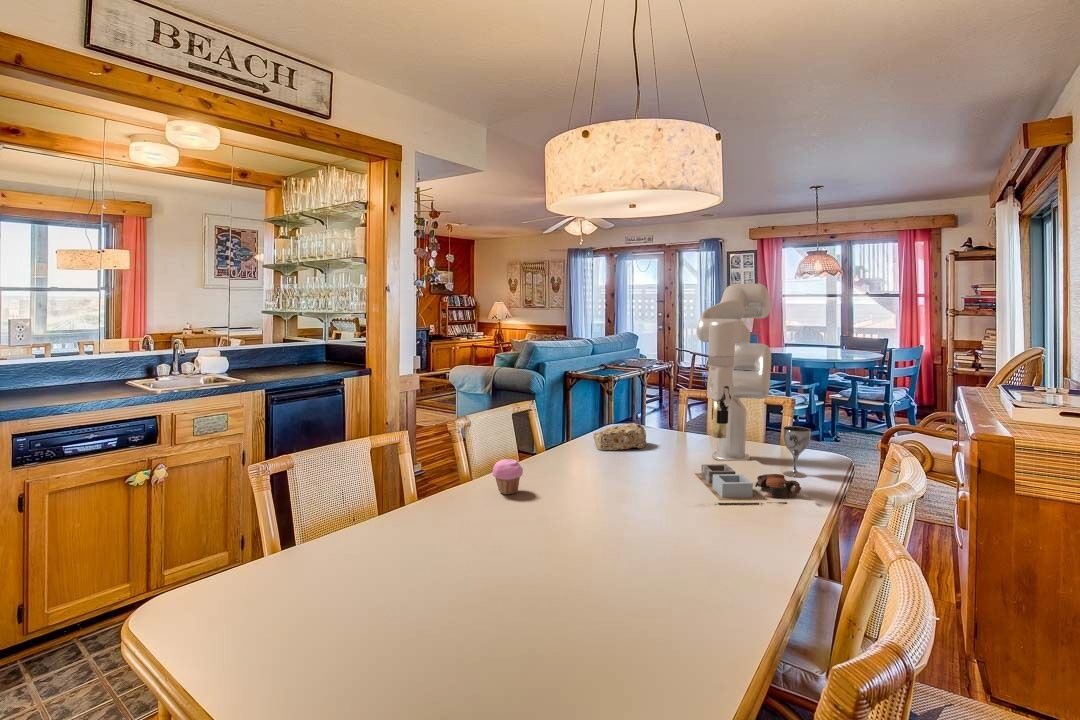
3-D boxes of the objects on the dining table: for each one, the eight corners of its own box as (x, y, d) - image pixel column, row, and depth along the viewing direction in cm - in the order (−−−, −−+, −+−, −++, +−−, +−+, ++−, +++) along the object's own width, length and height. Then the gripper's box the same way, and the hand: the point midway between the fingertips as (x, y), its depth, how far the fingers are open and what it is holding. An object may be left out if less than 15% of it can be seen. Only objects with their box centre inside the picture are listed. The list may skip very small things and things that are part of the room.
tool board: (694, 478, 176) (694, 462, 176) (728, 477, 176) (729, 462, 176) (719, 505, 152) (720, 487, 152) (759, 505, 153) (760, 487, 152)
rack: (712, 487, 162) (712, 474, 162) (741, 487, 163) (741, 474, 162) (722, 497, 154) (722, 483, 154) (752, 497, 154) (752, 483, 154)
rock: (600, 455, 207) (596, 428, 208) (592, 454, 221) (588, 429, 222) (653, 447, 210) (648, 420, 211) (641, 446, 224) (637, 421, 225)
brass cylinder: (710, 435, 171) (711, 396, 170) (723, 434, 171) (724, 396, 170) (714, 438, 167) (715, 399, 166) (728, 438, 167) (729, 398, 166)
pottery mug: (754, 504, 155) (750, 474, 159) (762, 509, 162) (758, 481, 166) (801, 500, 149) (795, 469, 153) (807, 506, 156) (802, 476, 160)
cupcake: (527, 494, 162) (527, 460, 161) (500, 499, 158) (500, 465, 157) (514, 485, 170) (513, 453, 169) (487, 490, 165) (487, 457, 164)
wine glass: (793, 479, 175) (795, 432, 173) (776, 471, 183) (777, 426, 181) (814, 476, 177) (816, 430, 176) (796, 469, 185) (798, 425, 183)
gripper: (700, 358, 175) (699, 416, 177) (718, 365, 158) (716, 428, 160) (724, 358, 175) (722, 415, 177) (744, 365, 158) (742, 428, 161)
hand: (719, 421), depth 169 cm, fingers closed on brass cylinder, 4 cm apart
